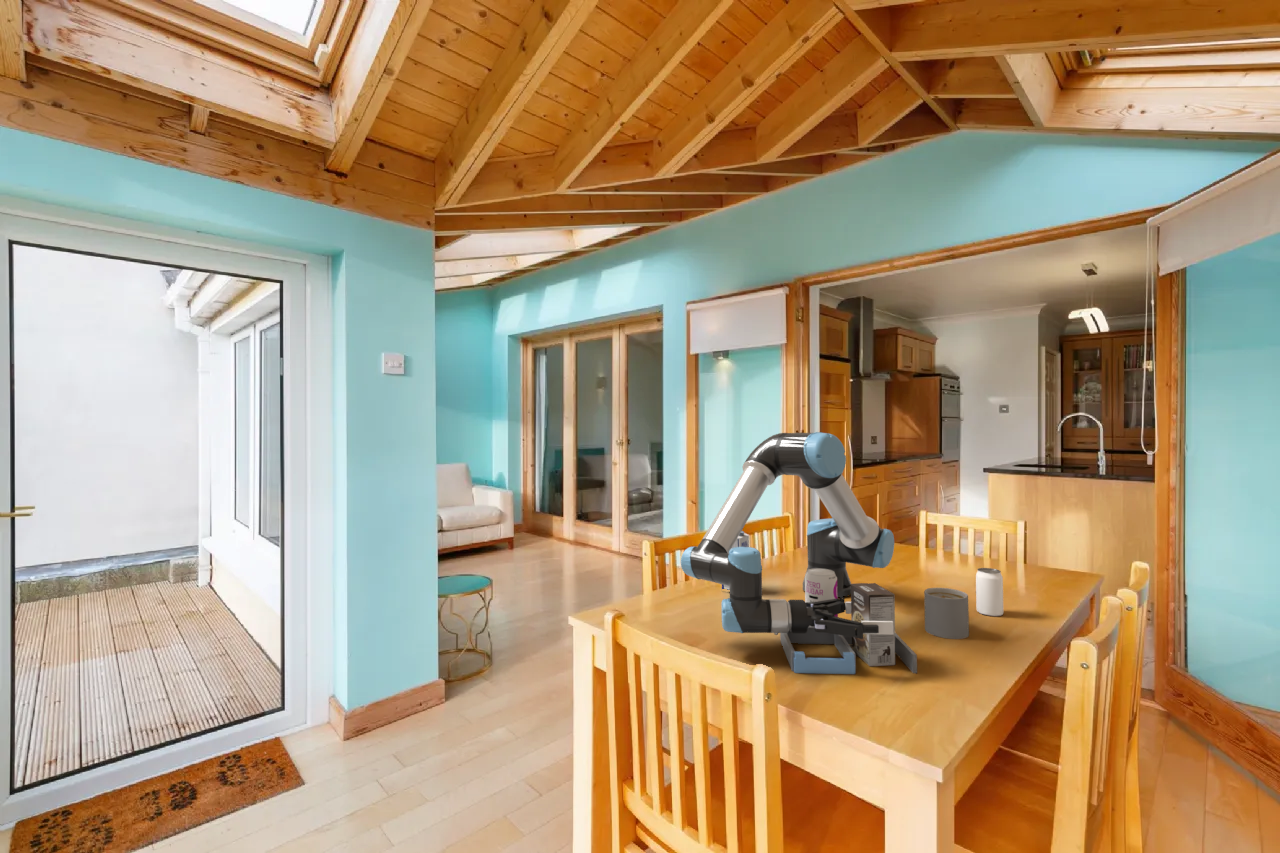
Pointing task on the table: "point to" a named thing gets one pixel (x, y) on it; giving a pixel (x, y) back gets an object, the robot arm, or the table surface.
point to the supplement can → (820, 585)
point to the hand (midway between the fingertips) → (882, 617)
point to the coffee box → (873, 606)
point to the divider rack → (842, 644)
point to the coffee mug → (946, 613)
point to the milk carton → (740, 542)
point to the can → (989, 592)
